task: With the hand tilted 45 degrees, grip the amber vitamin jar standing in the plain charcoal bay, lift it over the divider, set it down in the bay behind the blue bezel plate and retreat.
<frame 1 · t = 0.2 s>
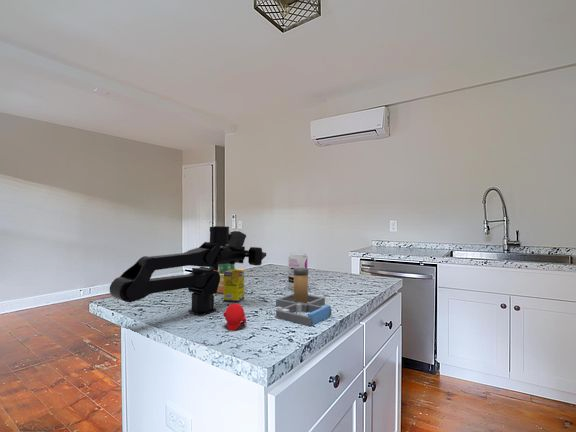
hand: (257, 253, 122), 17 cm above the worktop, tool horizontal, fingers open, 9 cm apart
supplement can: (297, 288, 136), on the worktop
potted cactus: (226, 290, 132), on the worktop
supplement box: (234, 300, 116), on the worktop
cap: (234, 327, 89), on the worktop
vitamin jar: (300, 304, 111), resting in divided tray
divided tray: (302, 310, 104), on the worktop
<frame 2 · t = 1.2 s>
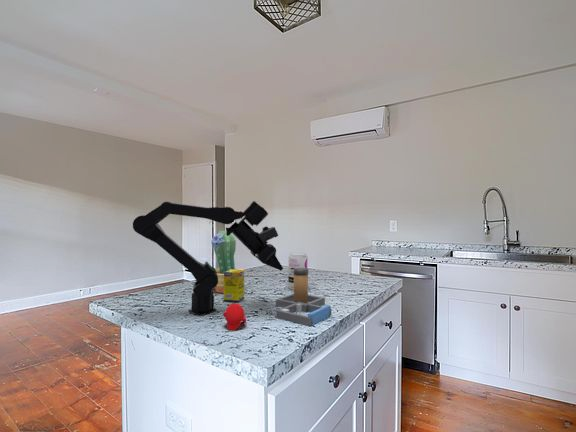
hand: (278, 267, 109), 14 cm above the worktop, tool tilted 45°, fingers open, 9 cm apart
nothing on the worktop moved.
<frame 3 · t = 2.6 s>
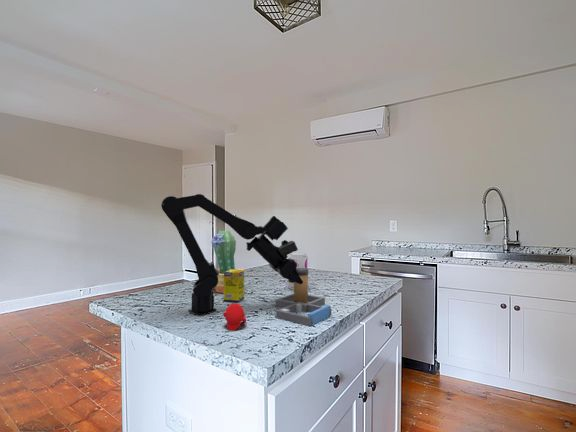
hand: (298, 280, 110), 9 cm above the worktop, tool tilted 45°, fingers open, 9 cm apart
nothing on the worktop moved.
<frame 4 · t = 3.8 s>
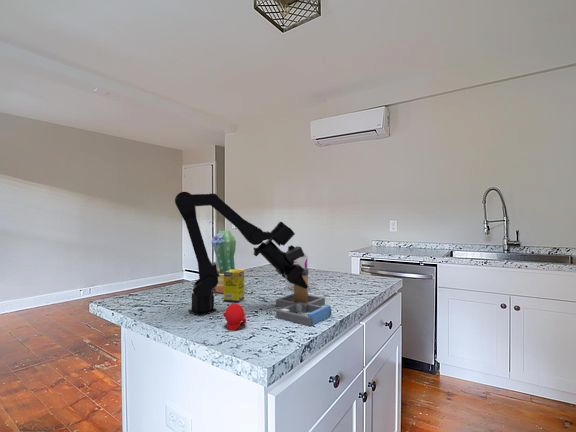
hand: (304, 285, 111), 7 cm above the worktop, tool tilted 45°, fingers closed on vitamin jar, 5 cm apart
vitamin jar: (300, 304, 111), resting in divided tray, touching gripper
everything else where it was.
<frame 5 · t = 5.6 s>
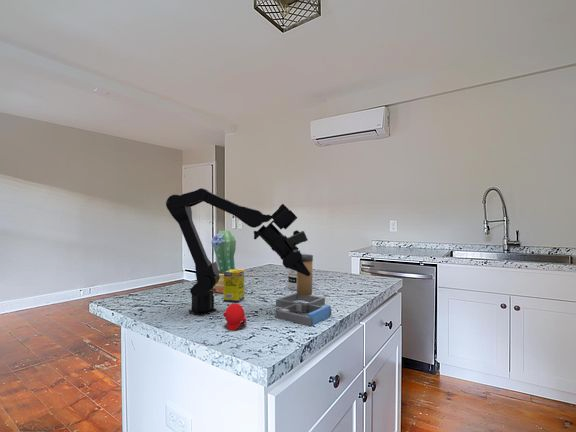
hand: (308, 273, 103), 12 cm above the worktop, tool tilted 45°, fingers closed on vitamin jar, 5 cm apart
vitamin jar: (304, 293, 103), point 6 cm above the worktop, touching gripper
everything else where it was.
when the fingers open (8 cm above the worktop, at t = 7.2 s): vitamin jar drops 1 cm, resting in divided tray.
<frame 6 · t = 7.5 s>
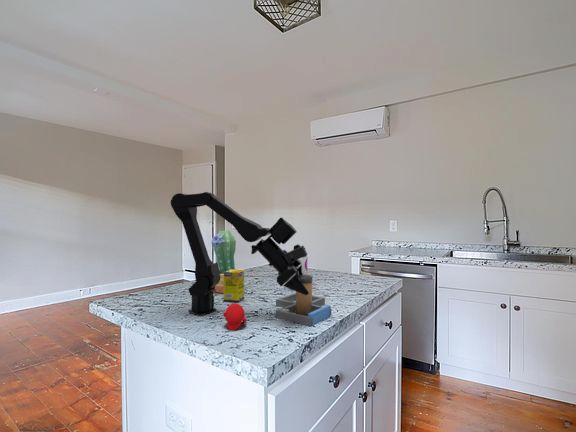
hand: (308, 290, 98), 8 cm above the worktop, tool tilted 45°, fingers open, 8 cm apart
vitamin jar: (303, 316, 98), resting in divided tray
everything else where it was.
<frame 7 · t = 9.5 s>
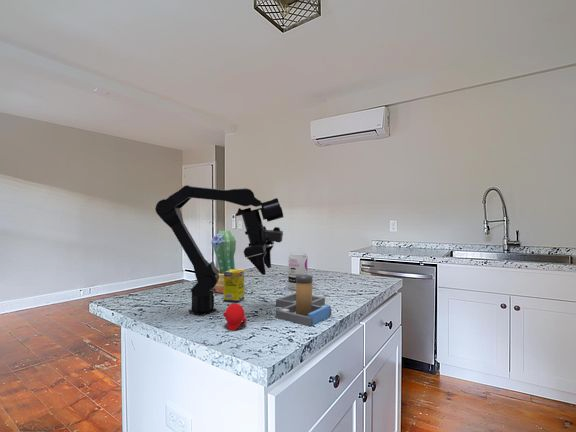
hand: (266, 271, 104), 13 cm above the worktop, tool tilted 15°, fingers open, 9 cm apart
nothing on the worktop moved.
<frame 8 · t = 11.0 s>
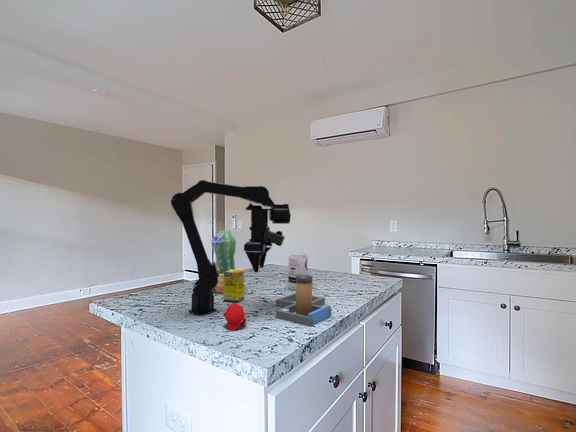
hand: (259, 269, 106), 13 cm above the worktop, tool pointing down, fingers open, 9 cm apart
nothing on the worktop moved.
at the end: vitamin jar inside the target area (0.0 cm from its centre), resting in divided tray; vitamin jar tilted 0°; the gripper is holding nothing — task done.
